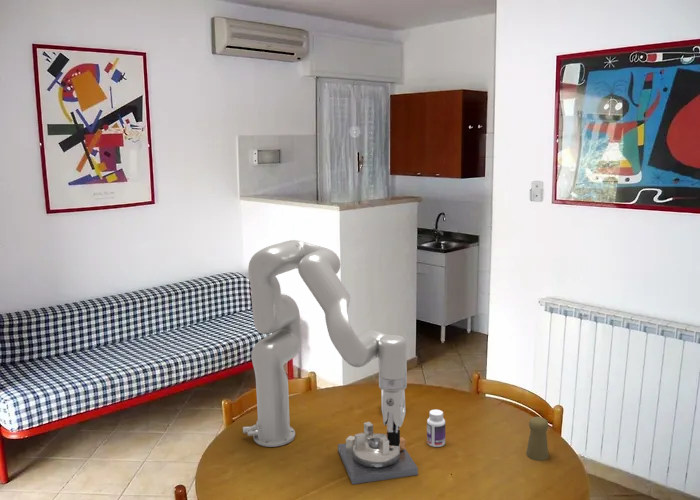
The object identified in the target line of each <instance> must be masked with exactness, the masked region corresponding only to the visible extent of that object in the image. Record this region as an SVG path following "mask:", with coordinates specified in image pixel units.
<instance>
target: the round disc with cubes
mask: <svg viewBox="0 0 700 500" xmlns="http://www.w3.org/2000/svg"><path fill="white" fill-rule="evenodd" d="M387 431H388V429H387V428H386V432H387ZM354 437H355V441H354V442H353V457H354V459H355V460H356V461H357V462H358V463H360V464H362V465H365V466H369V467H385V466H389V465H391V464H393V463H395V462H396V461H397V460H398V459H399V457H400V451H401V450H405V449H406V439H405V438H404V437H403V436H400V444H399V446H390V445H389V440H388V439H387V434H385V433H374V424H373V423H372V422H371V421H366V422H363V432H359V433H355V434H354Z"/></svg>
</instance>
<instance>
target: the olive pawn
mask: <svg viewBox="0 0 700 500" xmlns="http://www.w3.org/2000/svg"><path fill="white" fill-rule="evenodd" d="M528 426H529V429H530V432H529V437H528V442H527V447H526V452H525V453H526V456H527V458H529V459H531V460H533V461H539V462H544V461H546V460H548V459H549V457H550V456H549V447H548V439H547V438H548V437H547V431H548V430H549V422H548V420H547V419H546V418H544V417H541V416H533V417H531V418H530V419H529V422H528Z"/></svg>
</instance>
